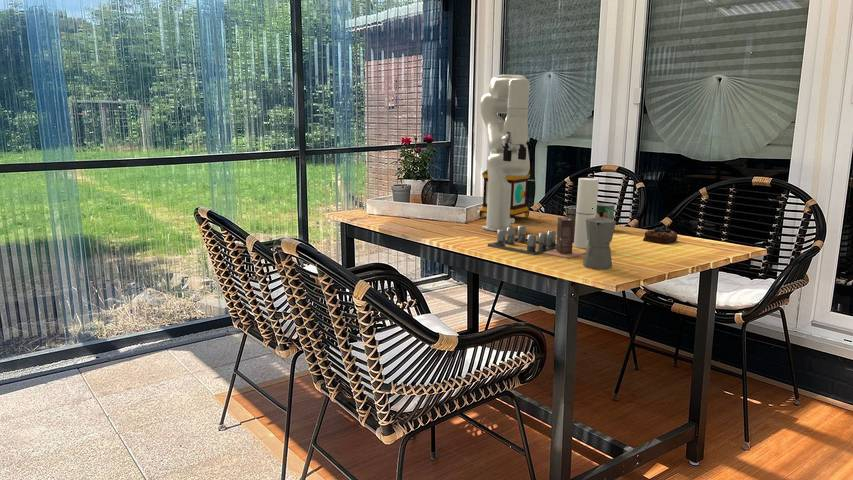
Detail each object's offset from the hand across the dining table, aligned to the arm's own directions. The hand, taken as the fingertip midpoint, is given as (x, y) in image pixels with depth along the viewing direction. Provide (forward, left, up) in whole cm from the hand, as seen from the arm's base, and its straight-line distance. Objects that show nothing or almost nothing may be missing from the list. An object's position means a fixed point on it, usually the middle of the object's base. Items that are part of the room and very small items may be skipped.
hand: (514, 160), depth 243 cm
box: (+4, +25, -30) cm, 40 cm away
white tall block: (-13, +23, -31) cm, 41 cm away
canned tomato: (-53, +10, -31) cm, 63 cm away
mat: (+4, +25, -31) cm, 40 cm away
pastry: (-48, +38, -31) cm, 68 cm away
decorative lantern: (-45, -36, -31) cm, 65 cm away
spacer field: (+4, +9, -31) cm, 32 cm away
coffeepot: (+12, +42, -31) cm, 54 cm away
